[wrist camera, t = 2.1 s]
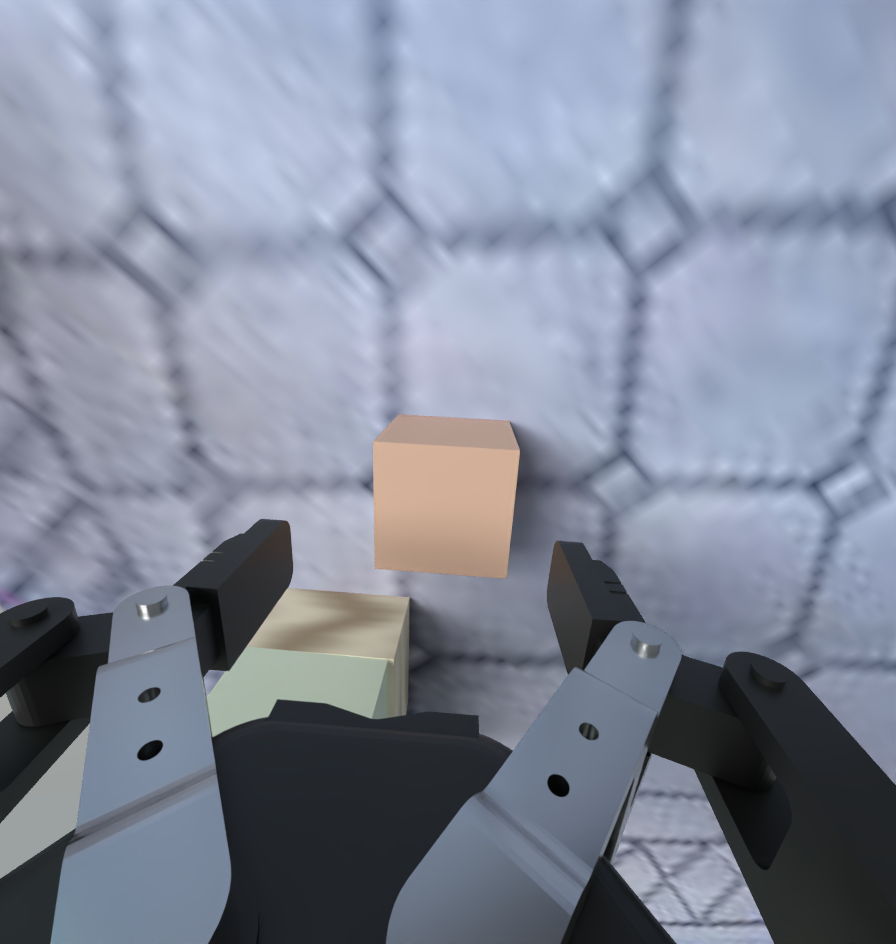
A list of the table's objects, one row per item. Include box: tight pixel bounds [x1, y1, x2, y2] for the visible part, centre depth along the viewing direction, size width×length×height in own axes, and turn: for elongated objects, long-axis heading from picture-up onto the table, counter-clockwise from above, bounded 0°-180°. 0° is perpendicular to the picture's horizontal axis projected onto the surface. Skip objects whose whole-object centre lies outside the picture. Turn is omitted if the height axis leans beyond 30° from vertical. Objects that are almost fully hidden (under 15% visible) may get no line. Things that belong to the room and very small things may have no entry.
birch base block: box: [247, 588, 410, 718], centre depth 23 cm, size 8×8×5 cm
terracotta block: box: [373, 414, 520, 579], centre depth 19 cm, size 6×6×6 cm
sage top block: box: [207, 647, 388, 737], centre depth 18 cm, size 7×7×5 cm
